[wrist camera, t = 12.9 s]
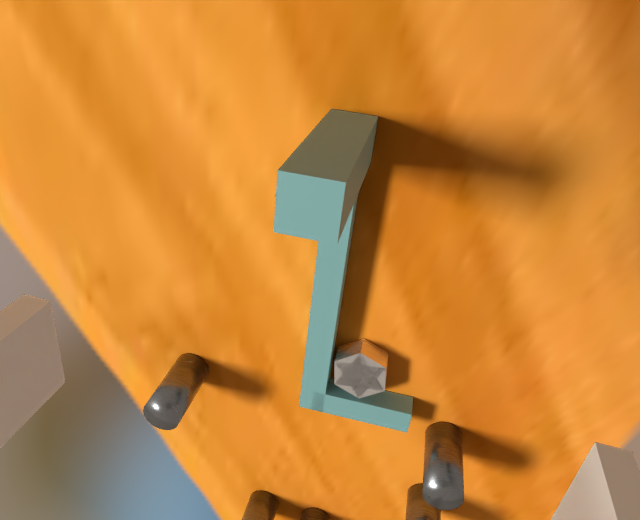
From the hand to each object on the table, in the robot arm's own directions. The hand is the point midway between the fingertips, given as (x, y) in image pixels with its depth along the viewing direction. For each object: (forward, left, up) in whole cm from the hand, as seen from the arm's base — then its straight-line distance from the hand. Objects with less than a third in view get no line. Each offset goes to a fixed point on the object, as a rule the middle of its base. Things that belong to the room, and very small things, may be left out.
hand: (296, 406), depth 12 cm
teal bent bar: (-1, +11, -24) cm, 26 cm away
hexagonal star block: (-1, +18, -24) cm, 30 cm away
